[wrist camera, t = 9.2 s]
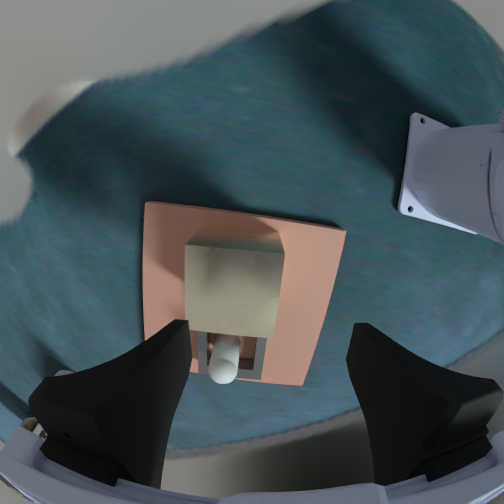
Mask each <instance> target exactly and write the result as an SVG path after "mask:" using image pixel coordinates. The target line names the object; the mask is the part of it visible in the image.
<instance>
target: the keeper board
mask: <svg viewBox="0 0 504 504" xmlns="http://www.w3.org/2000/svg"><path fill="white" fill-rule="evenodd" d="M203 225H213V226H225V227H236V228H247V229H258V230H269V231H279V234H280V238H281V241H282V245H283V248H284V252H285V258H284V266H283V273H282V281H281V288H280V295H279V302H278V309H277V316H276V323H275V329H274V336H273V338H267V342H266V349H265V356H264V363H263V369H262V376H261V380H255V379H243V378H235V377H236V375H237V371H238V362H239V357H241V358H253V359H254V352H255V343H256V337H250V336H239V335H229V334H220V333H211V332H210V354H212V355H211V359H210V363H209V368H208V372H209V375H210V377H211V378H212V379H213V380H214V381H215V382H217V383H220V384H227V383H230V382H231V381H233V380H234V379H239V380H247V381H255V382H265V383H275V384H287V385H303V382H304V380H305V377H306V374H307V371H308V368H309V365H310V362H311V359H312V356H313V353H314V350H315V347H316V344H317V341H318V337H319V334H320V331H321V328H322V324H323V321H324V318H325V314H326V311H327V307H328V304H329V300H330V296H331V293H332V289H333V285H334V281H335V278H336V274H337V270H338V266H339V261H340V257H341V253H342V249H343V244H344V240H345V235H346V231H345V230H344V229H343V228H338V227H332V226H327V225H321V224H315V223H309V222H303V221H297V220H291V219H284V218H278V217H271V216H265V215H258V214H251V213H244V212H237V211H230V210H223V209H215V208H208V207H200V206H192V205H183V204H175V203H166V202H157V201H148V202H145V213H144V233H143V312H144V332H145V341H146V340H147V339H148V338H150V337H151V336H153V335H154V334H155V333H157V332H158V331H159V330H161V329H162V328H163V327H165V326H166V325H167V324H169V323H170V322H171V321H173V320H174V319H181V320H185V244H186V243H187V242H188V241H189V240H190V239H191V238H192V237H193V236H194V235H195V234H196V232H197V231H198V230H199V229H200V228H201V227H202V226H203ZM189 331H190V340H191V348H192V356H193V358H192V362H191V367H190V372H195V373H198V333H197V331H195V330H189ZM206 375H207V374H206Z"/></svg>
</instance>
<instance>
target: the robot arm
mask: <svg viewBox="0 0 504 504" xmlns="http://www.w3.org/2000/svg"><path fill="white" fill-rule="evenodd" d="M420 119H422V120H423V124H422V123H421V122H420ZM499 121H500V123H498V124H485V125H474V126H464V127H456V128H450V127H448V126H446V125H444V124H442V123H440V122H438V121H436V120H433V119H431V118H429V117H426V116H424V115H422V114H419V113H413V114H411V116H410V126H409V136H408V145H407V153H406V161H405V168H404V174H403V180H402V186H401V192H400V197H399V203H398V211H399V212H400V213H402V214H404V215H408V216H412V217H416V218H420V219H424V220H428V221H431V222H435V223H439V224H442V225H446V226H449V227H453V228H456V229H460V230H463V231H466V232H469V233H473V234H480V235H482V236H485V237H487V238H490V239H492V240H494V241H496V242H499V243H501V244H503V245H504V107H503V109H502V112H501V113H500V115H499ZM409 206H410V207H411V210H410V211H409V212H408V207H409ZM192 358H193V356H192V348H191V340H190V331H189V321H188V320H181V319H174V320H173V321H171V322H170V323H169V324H167V325H166V326H165V327H163V328H162V329H161V330H159V331H158V332H157V333H155V334H154V335H153V336H151V337H150V338H148V339H147V340H146V341H144V342H142V343H141V344H139V345H138V346H136V347H135V348H133V349H132V350H130V351H128V352H126V353H125V354H123V355H121V356H119V357H117V358H115V359H113V360H111V361H108V362H106V363H103V364H100V365H98V366H95V367H93V368H90V369H86V370H83V371H79V372H75V373H71V374H66V375H60V376H53V377H45V378H44V380H43V381H42V382H41V383H40V384H39V386H38V387H37V388H36V389H35V391H34V392H33V393H32V394H31V395H30V397H29V400H28V402H29V406H30V409H31V411H32V413H33V415H34V416H35V418H36V419H37V421H38V422H39V424H40V425H41V427H42V428H43V430H44V431H45V432H46V434H47V435H48V437H47V438H46V440H45V441H44V440H43V439H42V438H40V437H39V436H38V435H36V434H34V433H32V432H31V431H29V430H27V429H25V428H24V427H22V426H18V427H17V428H16V430H15V431H14V433H13V434H12V435H11V437H10V438H9V440H8V441H7V443H6V444H5V446H4V447H3V449H2V450H1V451H0V474H1V475H2V476H3V477H4V478H5V479H7V480H8V481H9V482H10V483H11V484H12V485H13V486H14V487H15V488H17V489H18V490H19V491H20V492H21V493H23V494H24V495H25V496H26V497H28V498H29V499H31V500H32V501H34V502H35V503H37V504H486V503H487V502H488V501H490V500H492V499H493V498H495V497H496V496H498V495H499V494H500V493H501V492H502V491H504V430H502V431H500V432H499V433H497V434H495V435H494V436H492V437H491V438H490V439H489V440H488V439H487V437H486V435H487V434H488V432H489V431H488V428H487V427H486V424H487V423H488V422H489V420H490V419H491V417H492V416H493V415H494V413H495V412H496V410H497V409H498V407H499V405H500V404H501V401H502V399H503V391H502V389H501V388H500V387H499V386H498V384H497V383H496V382H495V381H494V380H493V379H487V378H480V377H473V376H468V375H465V374H461V373H458V372H454V371H451V370H448V369H446V368H443V367H440V366H438V365H435V364H433V363H431V362H429V361H427V360H425V359H423V358H421V357H419V356H417V355H415V354H414V353H412V352H410V351H409V350H407V349H405V348H404V347H402V346H401V345H399V344H398V343H396V342H395V341H393V340H392V339H391V338H389V337H388V336H386V335H385V334H384V333H382V332H381V331H379V330H378V329H376V328H375V327H373V326H372V325H370V324H369V323H354V328H353V332H352V337H351V341H350V345H349V349H348V353H347V357H346V362H347V367H348V372H349V376H350V379H351V382H352V385H353V387H354V390H355V393H356V395H357V398H358V401H359V403H360V406H361V409H362V411H363V414H364V417H365V421H366V424H367V429H368V433H369V439H370V445H371V451H372V457H373V466H374V476H375V477H374V479H375V483H365V484H355V485H349V486H343V487H337V488H330V489H320V490H310V491H297V492H258V493H257V492H256V493H238V494H234V495H230V496H225V497H223V498H221V499H217V498H208V497H200V496H193V495H187V494H181V493H176V492H170V491H166V490H161V489H160V486H161V478H162V470H163V464H164V458H165V452H166V447H167V442H168V437H169V432H170V428H171V424H172V420H173V417H174V413H175V411H176V408H177V405H178V403H179V400H180V397H181V395H182V392H183V389H184V387H185V384H186V381H187V379H188V376H189V372H190V367H191V362H192Z"/></svg>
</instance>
